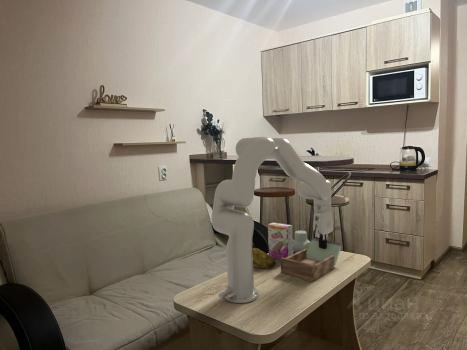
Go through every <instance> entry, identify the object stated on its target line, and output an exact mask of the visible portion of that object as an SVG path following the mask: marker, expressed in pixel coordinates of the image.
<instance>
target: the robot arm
mask: <svg viewBox="0 0 467 350" xmlns="http://www.w3.org/2000/svg"><path fill="white" fill-rule="evenodd" d="M235 153H236V155H237V159H236V161H235V163H234V167H233V171H232V176H231V179H225V180H222V181H221V182H220V183H219V184H218V185H217V186H216V188H215V191H214V198H213V203H212V211H211V225H212V227H213V230H215V231H216V232H218V233H220V234H223V235H227V236H228V240H227V243H226V246H225V247H226V248H225V255H226V268H227V269H226V271H227V272H226V273H227V285H226V286H225V289H224V291H222V292H220V293H218V298H219V299H226V301H228V302H231V303H233V304H246V303H250V302H251V303H252V302H253V301H255V300H257V299H258V297H259V294H260V293H259V290H258V289H257V288H256V287H255V280H254V279H255V278H254V277H255V276H254V264H253V255H252V248H253V235H254V228H255V223H254V219H253V218H252V216H251V214H249V213H247V212H245V211H242V210H237V209H235V207H238V208H247V207H249V206H250V205H251V204H252V203H253V201H254V195H255V186H256V182H257V181H256V180H257V173H258V170H259V168H260V166H261V165H262V164H263V163H264V162H265V161H266V160H275V161H276V163H277V164H278V165H279V166H280V168H281V169H282V170H283V172H284V173H285V174H286V175H287V176H288V177H290V178H292V179H294V180H295V181H296V180H297V181H300V182H301V183H299V184H298V186H297V194H298V196H300V197H302V198H304V199H308V200H313V221H312V229H313V233H314V234H315V235H314V238H317V239H319V248H322V249H326V248H327V241H328V235H329V234H330V233H332V232H333V231H334V218H333V212H332V182H331V181H330V180H327V179H326V178H325V176H323V174H322V173H321V172H319V171H318V170H317V169H316V168H314V167H312V166H311V165H309V164H308V163H306V162H304V161H303V159H302V158H301V157H300V155H299V154H298V152H297V151H296V149H295V148H294V147H293V146H292V144H291V143H290V141H289V140H288V139H286V138H284V137H283V138H282V137H273V138H272V137H271V138H270V137H266V136H257V137H256V136H255V137H254V136H253V137H243V138H241V139H239V140H238V141H237V143H236V144H235Z"/></svg>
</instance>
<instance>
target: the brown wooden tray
mask: <svg viewBox="0 0 467 350" xmlns="http://www.w3.org/2000/svg"><path fill="white" fill-rule="evenodd" d="M279 261H280V273H281V274H284V275H287V276H290V277H294V278H297V279H300V280H304V281H307V282H311V283H313V282H315V281H316V280H318V279H320V277H322V276H324V275H325V274H327V273H329V272H331V271H332V270H333V269H335V265H334V256H333V255H331V256H329V257H327V258H326V259H324V260H322V261H317V260H313V259H308V258H307V250H306V249H304V250H301V251H299V252H295V253H293V255H291V256H289V257H286V258H283V257H281V258H280V260H279Z"/></svg>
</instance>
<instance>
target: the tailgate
mask: <svg viewBox="0 0 467 350" xmlns="http://www.w3.org/2000/svg"><path fill="white" fill-rule="evenodd" d="M310 242H311V243H310V246H309V248H308V251H307V258H308V259H313V260H317V261H322V260H324V259H326V258H327V257H329V256H331V255H333V256H334V266H336V265H337V262H338V259H339V255H340V252H341V249H342V245H343V243H341V242H336V241H332V240H327V248H326V249H322V248H319V239H318V238H317V237H312V238H311V240H310Z"/></svg>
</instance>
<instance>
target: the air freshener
mask: <svg viewBox="0 0 467 350" xmlns="http://www.w3.org/2000/svg"><path fill="white" fill-rule="evenodd" d="M307 235H308V233H307V231H306V230H295V232H294V239H293V253H294V252H295V253H297V252H299V251H301V250H304V249H306V250H307V251H308V248H309V246H310V243H311V240H309V239H308V236H307Z"/></svg>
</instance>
